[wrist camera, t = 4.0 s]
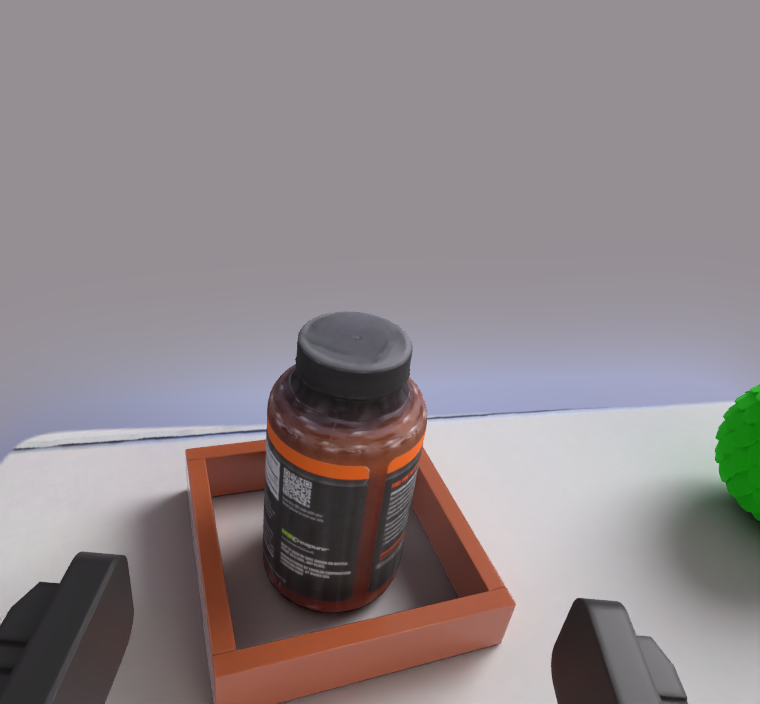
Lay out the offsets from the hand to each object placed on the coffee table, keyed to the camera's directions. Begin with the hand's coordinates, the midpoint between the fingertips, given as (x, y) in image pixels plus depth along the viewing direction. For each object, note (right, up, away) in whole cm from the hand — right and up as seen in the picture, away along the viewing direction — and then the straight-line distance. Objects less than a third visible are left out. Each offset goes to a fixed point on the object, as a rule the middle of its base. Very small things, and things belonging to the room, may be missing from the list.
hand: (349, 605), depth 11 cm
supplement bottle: (-2, -5, +16) cm, 17 cm away
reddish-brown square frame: (-2, -4, +16) cm, 16 cm away
